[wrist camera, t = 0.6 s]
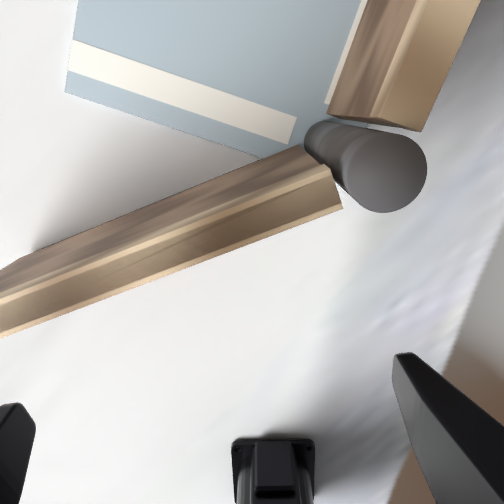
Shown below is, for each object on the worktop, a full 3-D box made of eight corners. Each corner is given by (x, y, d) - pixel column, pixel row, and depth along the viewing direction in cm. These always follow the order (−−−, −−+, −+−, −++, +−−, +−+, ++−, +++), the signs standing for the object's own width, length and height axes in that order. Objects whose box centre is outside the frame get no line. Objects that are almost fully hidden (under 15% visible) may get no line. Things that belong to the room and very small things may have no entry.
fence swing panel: (296, 141, 23) (329, 168, 13) (304, 164, 24) (343, 208, 13) (17, 255, 26) (-143, 355, 15) (29, 274, 26) (-118, 383, 16)
